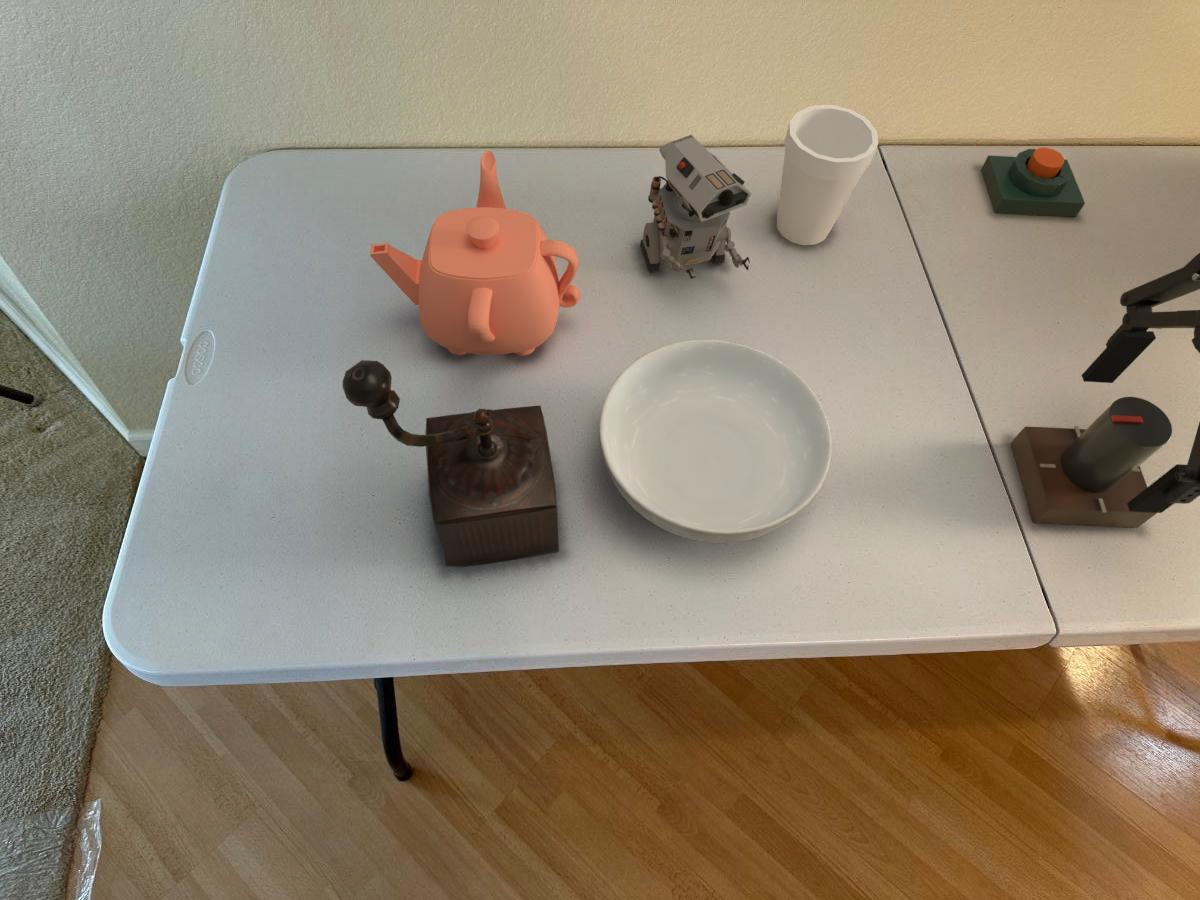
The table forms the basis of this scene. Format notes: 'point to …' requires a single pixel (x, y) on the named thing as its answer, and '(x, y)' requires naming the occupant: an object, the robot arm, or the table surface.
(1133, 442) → the pointer knob
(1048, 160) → the button
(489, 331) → the teapot
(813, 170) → the foam cup
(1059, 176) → the button box
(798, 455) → the serving bowl
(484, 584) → the table surface
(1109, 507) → the dial panel
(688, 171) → the figurine
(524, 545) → the coffee grinder
